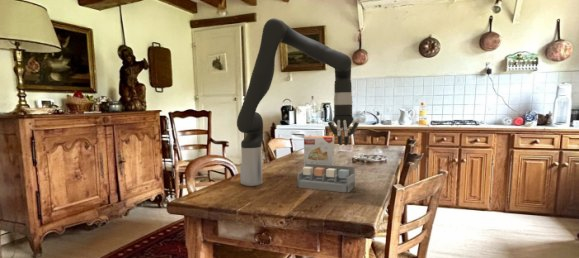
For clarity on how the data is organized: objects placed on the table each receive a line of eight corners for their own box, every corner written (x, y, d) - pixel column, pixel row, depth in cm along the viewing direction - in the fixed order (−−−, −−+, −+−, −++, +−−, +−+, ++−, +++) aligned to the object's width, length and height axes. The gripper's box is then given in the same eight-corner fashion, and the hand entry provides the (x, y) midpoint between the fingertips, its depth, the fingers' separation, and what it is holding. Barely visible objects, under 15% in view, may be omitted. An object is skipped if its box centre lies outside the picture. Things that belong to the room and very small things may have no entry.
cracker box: (304, 179, 159) (303, 136, 157) (307, 176, 165) (306, 135, 163) (332, 180, 155) (332, 136, 153) (334, 177, 161) (334, 135, 159)
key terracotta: (314, 175, 143) (314, 168, 143) (317, 174, 147) (317, 167, 146) (321, 176, 142) (321, 169, 142) (324, 174, 145) (324, 167, 145)
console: (297, 187, 145) (297, 167, 144) (306, 182, 153) (306, 163, 153) (348, 192, 134) (348, 171, 133) (354, 186, 143) (354, 166, 142)
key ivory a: (302, 174, 146) (302, 167, 146) (306, 173, 149) (305, 166, 149) (310, 175, 144) (310, 168, 144) (313, 173, 147) (313, 167, 147)
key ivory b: (326, 176, 141) (326, 169, 141) (329, 175, 144) (328, 168, 144) (333, 177, 139) (333, 170, 139) (336, 175, 142) (336, 168, 142)
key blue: (338, 177, 138) (338, 170, 138) (341, 176, 142) (341, 169, 141) (346, 178, 137) (346, 171, 137) (348, 176, 140) (348, 169, 140)
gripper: (324, 104, 136) (324, 145, 138) (356, 103, 130) (357, 146, 132) (330, 103, 143) (331, 143, 145) (361, 103, 137) (361, 144, 138)
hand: (343, 144), depth 138 cm, fingers closed
